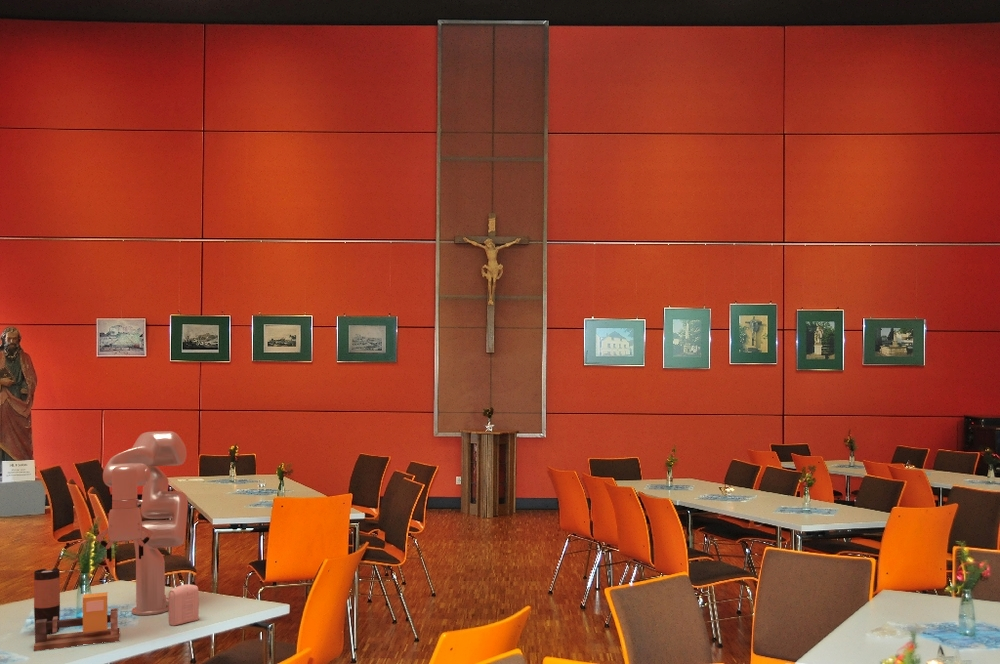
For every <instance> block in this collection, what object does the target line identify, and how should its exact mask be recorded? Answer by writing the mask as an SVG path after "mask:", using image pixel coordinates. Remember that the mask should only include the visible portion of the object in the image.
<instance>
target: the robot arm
mask: <svg viewBox="0 0 1000 664" xmlns="http://www.w3.org/2000/svg"><path fill="white" fill-rule="evenodd" d="M187 453H188V451H187V447H186V445H185V443H184V441H183V439H182V438H181V436H180V435H179V434H178V433H177V432H174V431H171V430H168V431H167V430H164V431H163V430H162V431H161V430H159V431H147V432H143V433H141V434H140V435H139V436H138V437H137V439H136V440H135V442H134V444H133V446H132V447H130V448H129V449H127V450H125V451H122V452H119V453H117V454H115V455H113V456H112V457H111V458H110V459H109V460H108V461H107V463H106V465H105V466H104V469H103V471H102V480H103V483H104V485H105V486H107V487H110V488H111V489H112V490H111V492H112V493H111V494H112V497H111V499H112V501H111V503H112V504H111V506H112V507H111V508H112V509H109V513H108V520H107V521H108V522H107V528H106V529H104V530H103V531H101V532H100V533H99V534H97V535H96V539H97V540H98V542H99V543H100V545H101V546H103V547H104V548H105V549H106V560H107V559H108V563H111V562H112V561H113V558H112V557H113V556H112V555H113V554H112V553H113V552H112V549H113V548H112V545H113V544H114V542H126V541H127V542H129V541H133V544H134V550H135V551H134V552H135V590H136V591H135V593H136V594H135V597H136V599H135V604H136V605H135V607H133V608H131V614H132V615H135V616H136V615H137V616H150V615H151V616H152V615H158V614H163V613H166V612H169V597H167V595H166V581H165V580H166V579H165V578H166V577H165V576H166V575H165V574H166V572H165V571H166V569H165V568H166V566H165V565H166V563H165V558H164V556H163V554H162V552H160V550H159V549H160V548H175V547H176V548H177V547H180V546H182V545H183V544H184V542H185V538H186V530H187V521H188V520H187V519H188V510H189V509H188V506H189V504H188V498H187V495H186V493H184V492H183V491H179V490H177V491H175V490H173V491H171V490H169V483H170V482H169V478H168V477H167V474H165V473H164V471H162V470H161V469H160V467H167V466H168V467H172V466H180V465H181V466H182V465H183V464H184V463H185V461H186V460H187V455H188V454H187ZM142 486H143V487H142ZM138 487H142V494H141V495H142V496H141V499H138ZM168 490H169V491H168ZM138 506H140V507H138ZM142 517H143V518H145V519H151V520H142ZM153 519H154V520H153ZM155 519H156V520H155ZM106 535H107V539H108V541H106V540H105V539H104V538H103V537H105V536H106Z"/></svg>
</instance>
